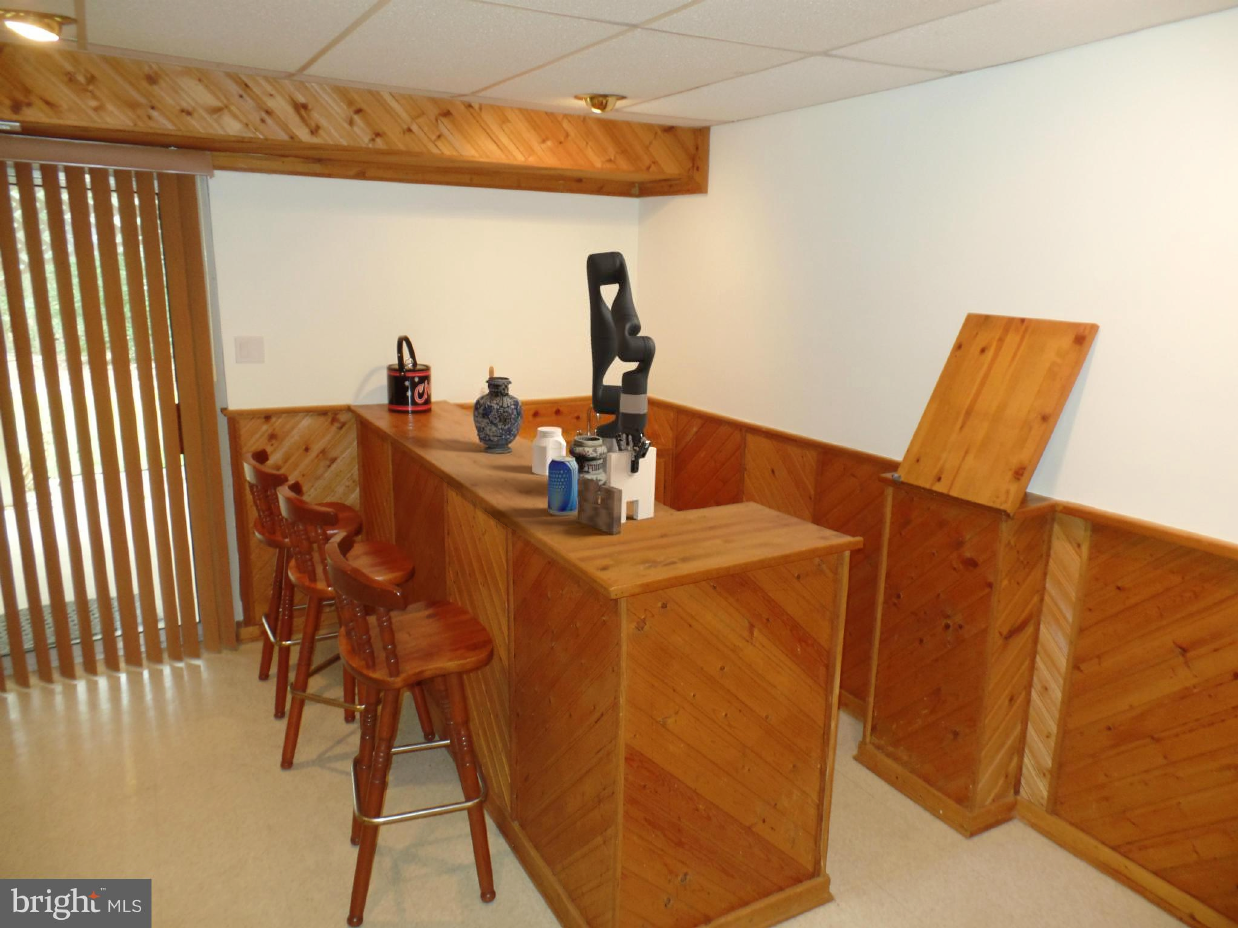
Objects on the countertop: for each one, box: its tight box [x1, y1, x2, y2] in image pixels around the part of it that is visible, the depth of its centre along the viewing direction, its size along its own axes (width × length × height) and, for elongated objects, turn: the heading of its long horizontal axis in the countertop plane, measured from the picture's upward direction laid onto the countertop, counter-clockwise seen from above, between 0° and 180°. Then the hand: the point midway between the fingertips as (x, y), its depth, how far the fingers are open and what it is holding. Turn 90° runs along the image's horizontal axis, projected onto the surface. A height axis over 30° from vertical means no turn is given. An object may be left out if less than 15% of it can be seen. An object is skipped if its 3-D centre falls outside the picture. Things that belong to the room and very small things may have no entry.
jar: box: [531, 426, 567, 476], centre depth 290 cm, size 12×10×15 cm
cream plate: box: [606, 446, 657, 524], centre depth 235 cm, size 16×2×20 cm, turn 129°
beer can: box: [547, 455, 578, 517], centre depth 242 cm, size 8×8×16 cm
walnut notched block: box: [576, 477, 622, 536], centre depth 229 cm, size 16×2×12 cm, turn 39°
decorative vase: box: [472, 376, 524, 455], centre depth 320 cm, size 21×19×28 cm
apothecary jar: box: [568, 435, 607, 499], centre depth 261 cm, size 12×12×18 cm
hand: (631, 471), depth 234 cm, fingers closed on cream plate, 2 cm apart
